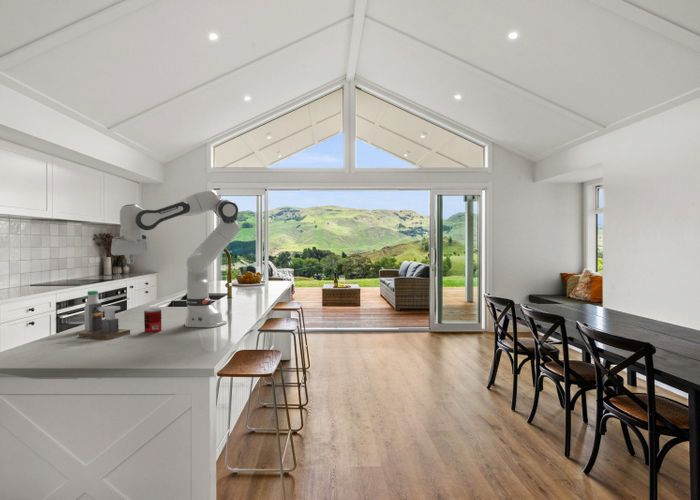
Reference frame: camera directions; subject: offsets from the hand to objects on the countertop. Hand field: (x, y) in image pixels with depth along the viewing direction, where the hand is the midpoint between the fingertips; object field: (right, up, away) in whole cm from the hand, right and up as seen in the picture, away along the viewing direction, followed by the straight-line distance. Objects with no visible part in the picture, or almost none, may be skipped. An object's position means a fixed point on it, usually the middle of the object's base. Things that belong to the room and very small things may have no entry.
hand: (130, 263), depth 218 cm
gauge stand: (-7, -34, -11) cm, 37 cm away
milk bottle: (-19, -34, +1) cm, 39 cm away
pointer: (-10, -25, -10) cm, 29 cm away
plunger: (-6, -28, -12) cm, 31 cm away
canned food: (+13, -34, -2) cm, 37 cm away
